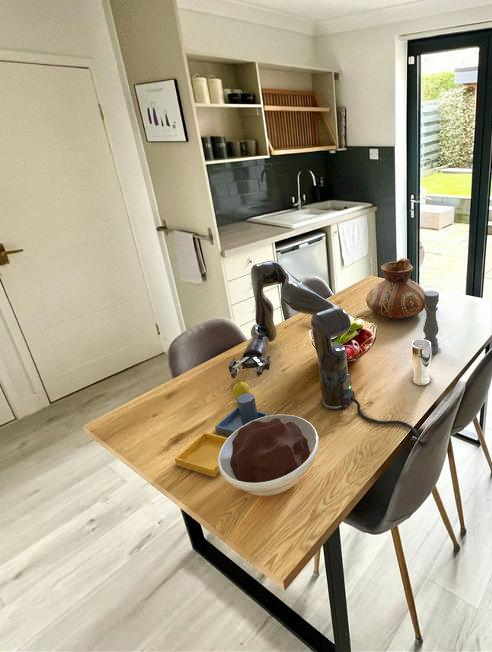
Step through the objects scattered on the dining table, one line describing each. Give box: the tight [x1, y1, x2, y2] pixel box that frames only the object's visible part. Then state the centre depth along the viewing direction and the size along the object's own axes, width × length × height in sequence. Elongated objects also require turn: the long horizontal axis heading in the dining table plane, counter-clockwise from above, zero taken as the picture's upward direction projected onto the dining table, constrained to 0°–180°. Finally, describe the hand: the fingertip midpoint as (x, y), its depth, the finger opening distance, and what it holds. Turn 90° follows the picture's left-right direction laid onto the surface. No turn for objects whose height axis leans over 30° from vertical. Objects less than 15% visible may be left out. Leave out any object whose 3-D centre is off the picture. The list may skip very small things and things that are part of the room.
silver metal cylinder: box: [410, 338, 432, 386], centre depth 140 cm, size 7×7×15 cm
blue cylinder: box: [236, 392, 259, 425], centre depth 123 cm, size 5×5×9 cm
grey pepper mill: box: [422, 290, 440, 355], centre depth 157 cm, size 6×6×25 cm
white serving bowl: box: [218, 413, 320, 497], centre depth 102 cm, size 25×25×15 cm
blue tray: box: [215, 405, 270, 436], centre depth 123 cm, size 12×10×2 cm
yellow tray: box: [174, 431, 228, 478], centre depth 111 cm, size 13×11×2 cm
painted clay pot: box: [365, 257, 426, 320], centre depth 193 cm, size 30×30×25 cm
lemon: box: [232, 381, 251, 402], centre depth 133 cm, size 6×6×8 cm
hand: (245, 375), depth 139 cm, fingers open, 8 cm apart
